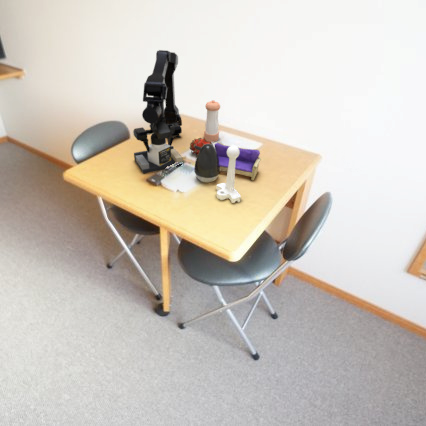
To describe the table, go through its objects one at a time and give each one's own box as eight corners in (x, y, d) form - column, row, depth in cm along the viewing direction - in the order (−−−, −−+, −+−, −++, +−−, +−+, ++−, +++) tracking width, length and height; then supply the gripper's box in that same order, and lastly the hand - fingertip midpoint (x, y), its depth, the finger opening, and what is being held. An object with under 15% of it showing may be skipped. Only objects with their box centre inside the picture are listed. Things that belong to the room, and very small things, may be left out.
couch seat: (173, 153, 146) (172, 145, 144) (183, 165, 138) (183, 157, 135) (134, 161, 139) (133, 152, 137) (143, 173, 131) (142, 165, 128)
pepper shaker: (205, 135, 164) (206, 97, 152) (219, 136, 163) (221, 98, 152) (203, 141, 158) (204, 102, 147) (217, 142, 158) (220, 103, 146)
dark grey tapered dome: (194, 172, 133) (195, 137, 124) (219, 173, 133) (222, 139, 124) (192, 184, 125) (192, 149, 116) (218, 186, 125) (221, 151, 116)
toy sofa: (206, 171, 134) (206, 148, 128) (212, 162, 141) (214, 140, 135) (254, 181, 129) (257, 159, 123) (259, 171, 136) (262, 149, 130)
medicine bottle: (159, 166, 133) (157, 139, 126) (147, 161, 136) (145, 134, 129) (171, 160, 137) (170, 134, 130) (159, 155, 141) (158, 129, 134)
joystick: (242, 200, 118) (249, 151, 106) (226, 206, 115) (230, 156, 102) (225, 186, 125) (229, 138, 113) (209, 191, 122) (211, 143, 110)
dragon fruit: (187, 158, 146) (210, 157, 151) (194, 155, 138) (218, 154, 144) (184, 140, 146) (207, 139, 151) (192, 135, 138) (216, 135, 144)
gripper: (139, 124, 115) (143, 163, 124) (187, 117, 122) (187, 154, 132) (131, 114, 123) (135, 151, 132) (175, 108, 130) (176, 143, 139)
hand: (159, 150), depth 134 cm, fingers open, 9 cm apart
